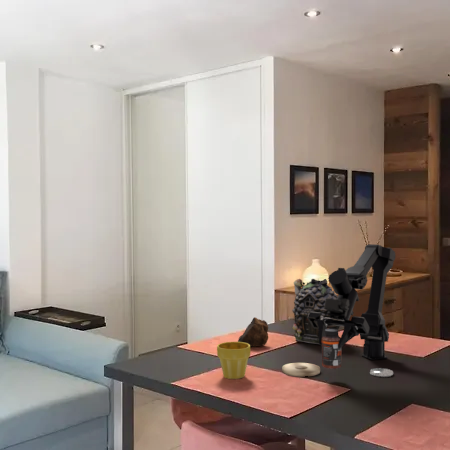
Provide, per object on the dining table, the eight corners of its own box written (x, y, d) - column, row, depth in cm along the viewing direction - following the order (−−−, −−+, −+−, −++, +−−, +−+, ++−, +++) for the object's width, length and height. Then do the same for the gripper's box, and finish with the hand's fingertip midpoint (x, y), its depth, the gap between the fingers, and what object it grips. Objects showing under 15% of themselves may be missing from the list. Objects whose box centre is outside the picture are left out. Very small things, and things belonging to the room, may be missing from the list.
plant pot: (226, 383, 173) (226, 350, 173) (211, 374, 182) (211, 343, 182) (256, 378, 178) (256, 346, 178) (240, 370, 187) (240, 340, 187)
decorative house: (284, 341, 228) (283, 278, 227) (301, 334, 240) (301, 274, 239) (333, 348, 216) (332, 281, 215) (349, 340, 228) (348, 277, 228)
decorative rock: (266, 343, 225) (266, 315, 225) (271, 346, 219) (270, 318, 219) (236, 345, 222) (236, 317, 222) (240, 348, 216) (240, 320, 216)
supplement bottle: (341, 369, 172) (341, 332, 171) (321, 369, 173) (321, 331, 173) (341, 364, 178) (341, 327, 177) (322, 363, 179) (321, 327, 178)
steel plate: (384, 369, 186) (384, 367, 186) (397, 375, 180) (397, 373, 180) (365, 372, 184) (365, 369, 184) (378, 378, 177) (378, 375, 177)
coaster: (308, 364, 193) (308, 361, 193) (327, 374, 182) (327, 370, 182) (276, 368, 189) (276, 364, 189) (293, 378, 177) (293, 374, 177)
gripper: (309, 286, 183) (292, 327, 175) (365, 290, 172) (350, 334, 164) (321, 307, 190) (305, 347, 181) (375, 312, 179) (361, 356, 170)
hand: (329, 345), depth 174 cm, fingers closed on supplement bottle, 6 cm apart
